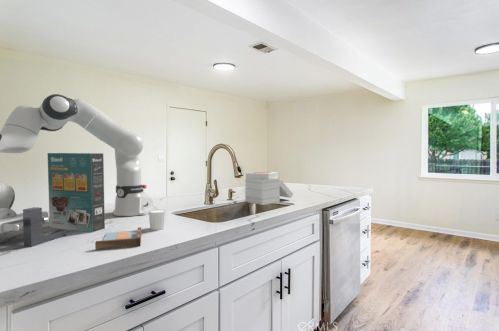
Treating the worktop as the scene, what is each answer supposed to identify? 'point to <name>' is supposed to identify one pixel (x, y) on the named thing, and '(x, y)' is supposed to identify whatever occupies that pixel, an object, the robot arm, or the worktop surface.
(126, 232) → the mat
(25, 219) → the bracket
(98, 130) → the robot arm
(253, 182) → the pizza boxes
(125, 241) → the corner walls
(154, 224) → the white cylinder
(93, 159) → the cake mix box
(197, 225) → the worktop surface
